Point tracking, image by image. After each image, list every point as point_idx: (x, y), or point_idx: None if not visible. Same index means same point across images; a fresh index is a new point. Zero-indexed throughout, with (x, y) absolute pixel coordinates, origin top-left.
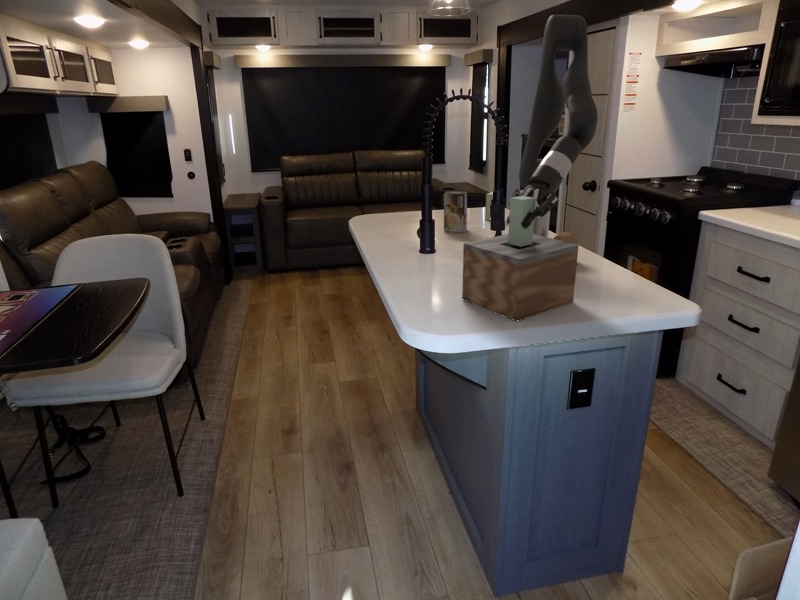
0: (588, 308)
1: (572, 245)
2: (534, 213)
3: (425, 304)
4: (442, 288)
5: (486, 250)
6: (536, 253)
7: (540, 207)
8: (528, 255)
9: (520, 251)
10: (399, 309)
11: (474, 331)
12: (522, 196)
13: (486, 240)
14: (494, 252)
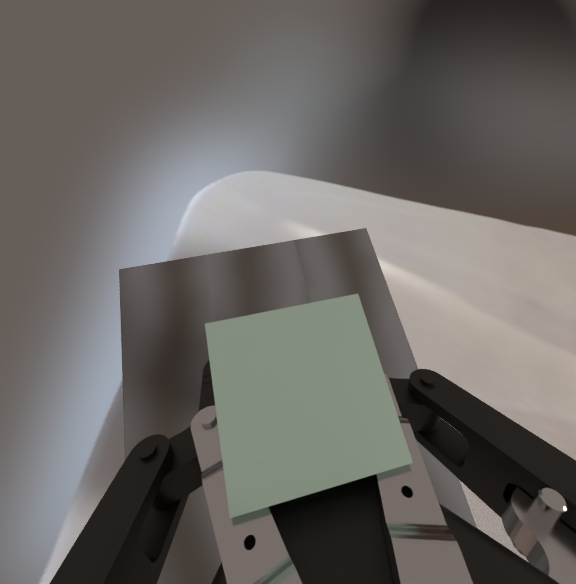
0: None
1: None
2: (190, 427)
3: (331, 226)
4: (402, 289)
5: (266, 245)
6: (139, 359)
7: (133, 473)
8: (136, 318)
9: (192, 325)
10: (325, 185)
11: (187, 237)
12: (379, 442)
13: (375, 307)
14: (231, 251)
